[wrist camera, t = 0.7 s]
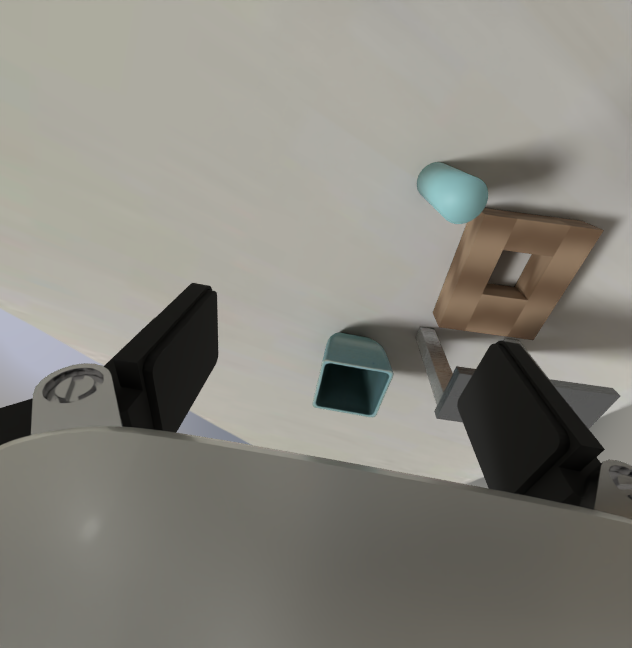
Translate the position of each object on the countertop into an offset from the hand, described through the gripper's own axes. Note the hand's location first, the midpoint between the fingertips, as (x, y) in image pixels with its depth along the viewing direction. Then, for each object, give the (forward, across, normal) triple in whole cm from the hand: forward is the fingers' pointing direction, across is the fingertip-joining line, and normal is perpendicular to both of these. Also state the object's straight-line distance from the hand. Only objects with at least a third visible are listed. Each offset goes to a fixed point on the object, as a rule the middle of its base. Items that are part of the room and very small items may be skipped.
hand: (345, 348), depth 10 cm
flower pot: (+29, -5, +21) cm, 36 cm away
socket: (+29, -20, +5) cm, 35 cm away
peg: (+28, -9, -3) cm, 30 cm away
